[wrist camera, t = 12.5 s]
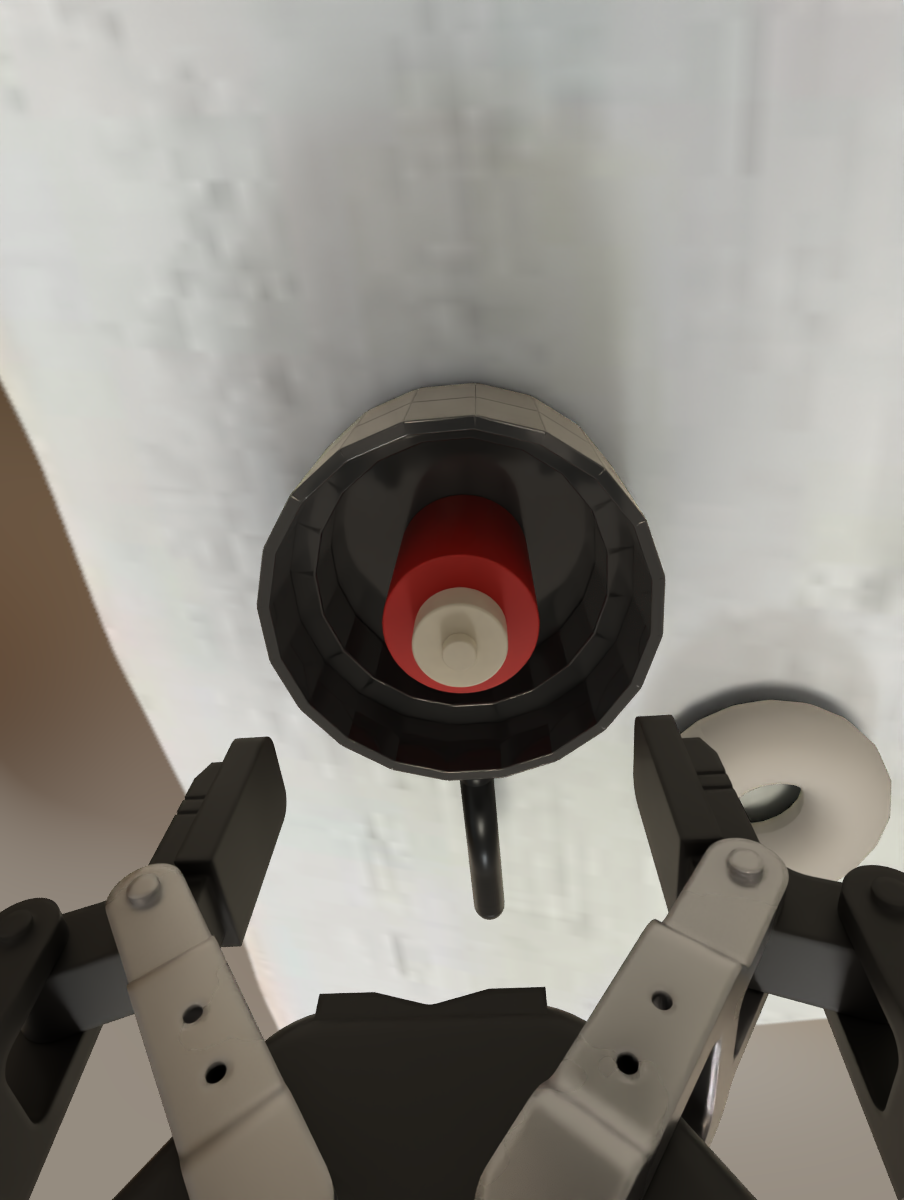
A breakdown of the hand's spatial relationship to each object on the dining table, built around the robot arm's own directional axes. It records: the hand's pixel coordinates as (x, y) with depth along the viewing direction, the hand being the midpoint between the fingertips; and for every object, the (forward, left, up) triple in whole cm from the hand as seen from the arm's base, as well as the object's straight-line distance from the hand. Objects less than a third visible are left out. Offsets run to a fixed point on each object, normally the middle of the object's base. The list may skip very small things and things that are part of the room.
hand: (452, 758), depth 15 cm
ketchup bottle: (0, 0, -12) cm, 12 cm away
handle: (+10, 0, -8) cm, 13 cm away
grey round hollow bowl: (0, 0, -13) cm, 13 cm away
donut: (+12, +12, -13) cm, 21 cm away
